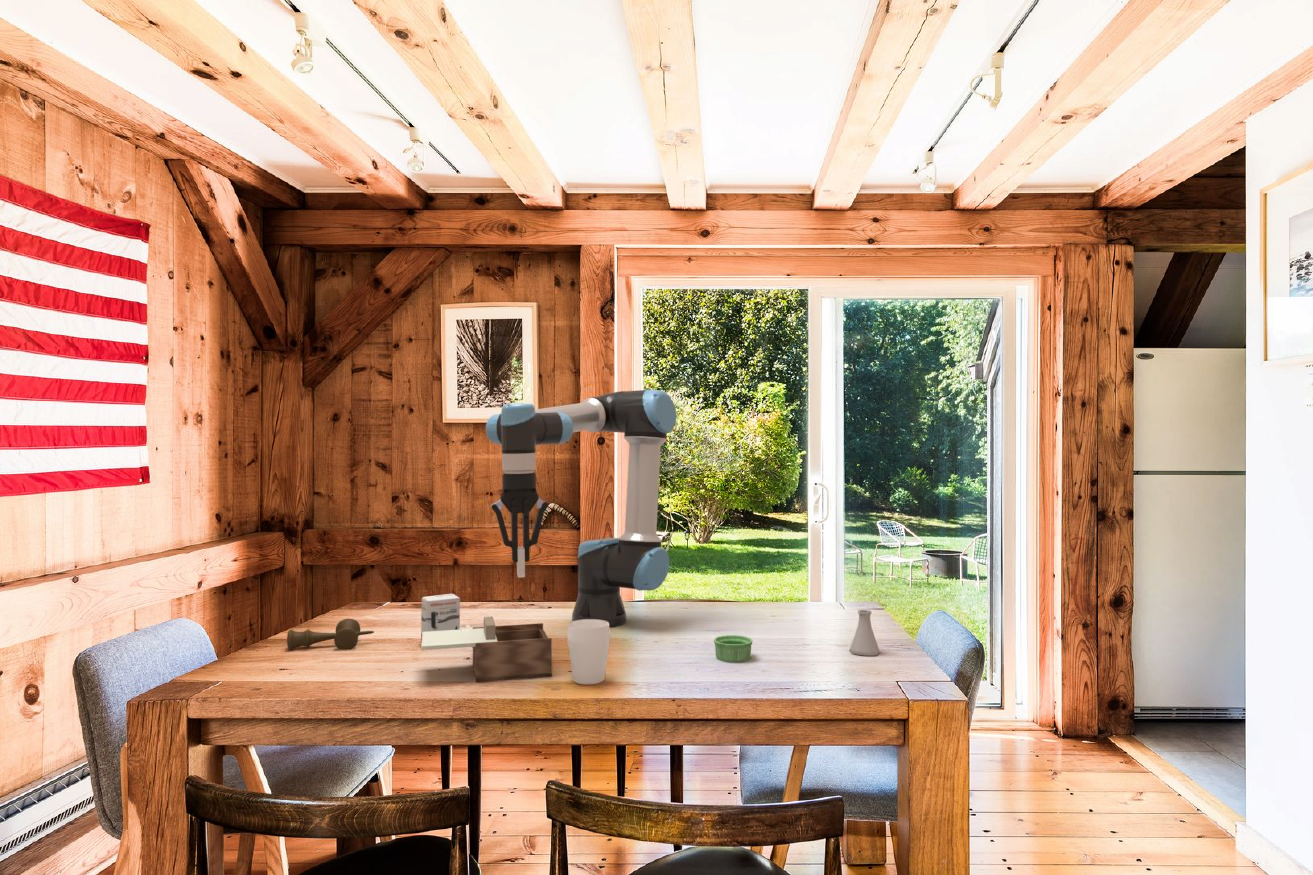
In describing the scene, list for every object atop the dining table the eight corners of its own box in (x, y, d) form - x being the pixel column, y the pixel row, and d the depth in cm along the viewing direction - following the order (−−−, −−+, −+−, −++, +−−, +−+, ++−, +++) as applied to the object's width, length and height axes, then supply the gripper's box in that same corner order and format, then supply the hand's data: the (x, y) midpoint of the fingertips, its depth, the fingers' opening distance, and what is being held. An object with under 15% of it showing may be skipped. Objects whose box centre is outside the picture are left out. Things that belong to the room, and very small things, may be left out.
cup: (567, 674, 176) (567, 619, 176) (609, 673, 177) (609, 618, 177) (566, 687, 167) (566, 629, 167) (610, 686, 168) (610, 628, 168)
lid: (493, 631, 186) (493, 614, 186) (497, 645, 173) (497, 627, 173) (422, 635, 182) (422, 618, 182) (421, 650, 169) (421, 632, 169)
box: (542, 658, 190) (542, 623, 190) (551, 676, 175) (551, 638, 175) (472, 663, 185) (472, 627, 185) (475, 682, 171) (475, 643, 171)
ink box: (426, 648, 199) (426, 600, 199) (420, 644, 203) (420, 596, 203) (460, 643, 204) (460, 596, 204) (453, 639, 208) (453, 593, 208)
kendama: (290, 647, 202) (375, 638, 209) (285, 658, 193) (373, 649, 199) (289, 623, 202) (374, 615, 208) (284, 633, 193) (373, 625, 199)
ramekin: (727, 665, 184) (727, 646, 184) (706, 656, 192) (706, 637, 192) (760, 660, 188) (760, 641, 188) (738, 651, 196) (738, 633, 196)
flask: (881, 650, 196) (881, 609, 196) (879, 658, 190) (879, 615, 190) (850, 647, 199) (850, 607, 199) (847, 655, 192) (847, 613, 192)
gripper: (545, 470, 188) (547, 571, 189) (488, 472, 185) (490, 575, 185) (550, 472, 181) (552, 577, 181) (490, 474, 177) (492, 581, 178)
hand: (521, 576), depth 183 cm, fingers closed
